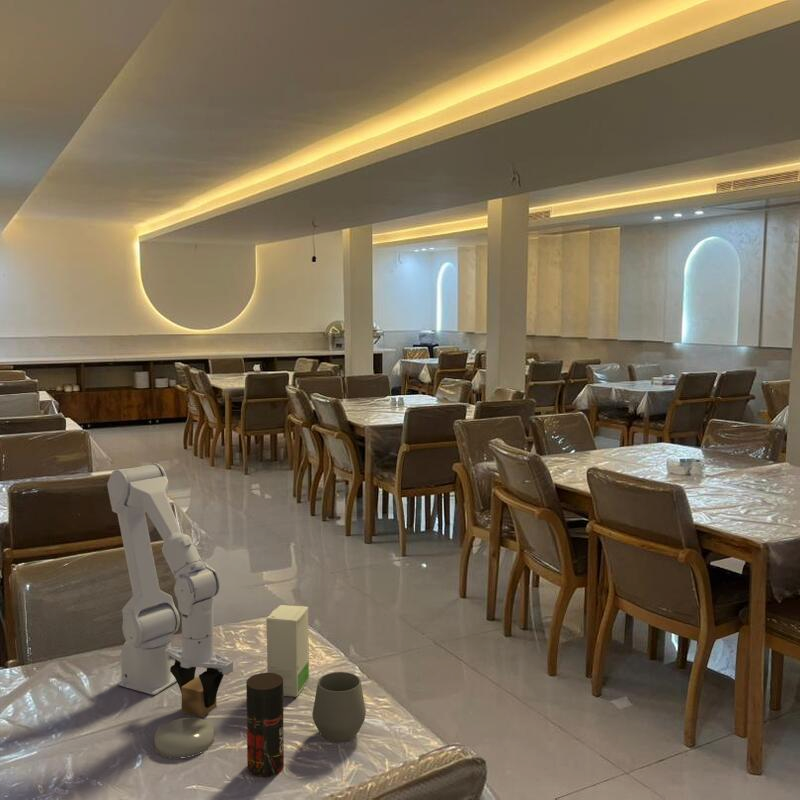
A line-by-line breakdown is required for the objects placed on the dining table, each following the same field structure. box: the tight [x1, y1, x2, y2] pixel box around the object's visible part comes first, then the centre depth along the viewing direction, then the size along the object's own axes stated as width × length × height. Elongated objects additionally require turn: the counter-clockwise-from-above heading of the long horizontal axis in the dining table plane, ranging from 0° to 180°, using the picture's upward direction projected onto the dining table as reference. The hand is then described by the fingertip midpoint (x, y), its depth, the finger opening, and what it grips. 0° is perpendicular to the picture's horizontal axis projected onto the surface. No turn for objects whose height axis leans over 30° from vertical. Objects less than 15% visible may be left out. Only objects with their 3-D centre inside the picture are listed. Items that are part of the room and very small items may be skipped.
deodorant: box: [245, 672, 285, 779], centre depth 129 cm, size 6×6×15 cm
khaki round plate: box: [154, 717, 215, 759], centre depth 137 cm, size 10×10×2 cm
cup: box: [311, 671, 367, 744], centre depth 139 cm, size 10×9×10 cm
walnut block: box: [180, 676, 218, 719], centre depth 148 cm, size 4×4×5 cm
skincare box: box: [265, 604, 310, 698], centre depth 157 cm, size 8×7×16 cm
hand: (199, 702), depth 148 cm, fingers closed on walnut block, 4 cm apart
